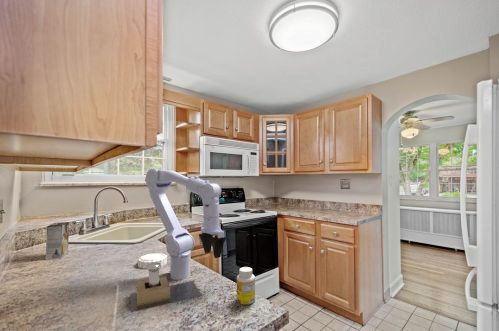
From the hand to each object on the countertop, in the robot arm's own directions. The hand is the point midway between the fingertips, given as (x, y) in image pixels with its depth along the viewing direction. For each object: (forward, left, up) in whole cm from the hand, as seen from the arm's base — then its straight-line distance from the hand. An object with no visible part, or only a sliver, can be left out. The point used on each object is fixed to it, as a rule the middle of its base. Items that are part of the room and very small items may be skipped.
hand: (212, 255), depth 84 cm
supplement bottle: (+17, +5, -11) cm, 21 cm away
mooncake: (-33, -17, -11) cm, 39 cm away
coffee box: (-66, -58, -11) cm, 89 cm away
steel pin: (+2, -20, -9) cm, 22 cm away
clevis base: (+2, -16, -11) cm, 19 cm away
